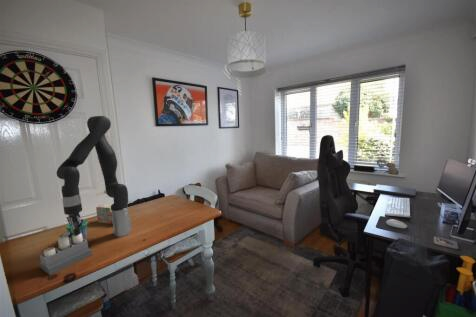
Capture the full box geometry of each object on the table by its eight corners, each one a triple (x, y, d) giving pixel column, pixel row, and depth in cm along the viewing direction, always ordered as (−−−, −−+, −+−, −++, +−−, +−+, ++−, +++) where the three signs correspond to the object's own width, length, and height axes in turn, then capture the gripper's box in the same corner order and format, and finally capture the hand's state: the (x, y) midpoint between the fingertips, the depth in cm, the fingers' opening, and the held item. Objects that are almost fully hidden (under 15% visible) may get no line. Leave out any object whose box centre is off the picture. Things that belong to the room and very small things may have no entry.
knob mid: (67, 245, 111) (66, 234, 111) (71, 247, 109) (69, 236, 108) (58, 249, 108) (56, 238, 107) (61, 251, 106) (59, 240, 105)
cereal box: (128, 221, 156) (126, 205, 154) (121, 224, 150) (119, 208, 148) (105, 218, 161) (103, 203, 160) (97, 222, 155) (95, 206, 154)
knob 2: (81, 242, 117) (79, 232, 116) (85, 244, 115) (83, 233, 114) (72, 246, 113) (70, 235, 112) (76, 248, 111) (74, 237, 110)
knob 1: (54, 257, 107) (52, 246, 106) (58, 259, 105) (56, 248, 104) (44, 262, 103) (42, 250, 102) (47, 264, 101) (45, 252, 100)
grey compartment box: (81, 249, 120) (79, 236, 119) (91, 254, 114) (89, 241, 113) (39, 267, 105) (37, 253, 104) (49, 275, 99) (47, 260, 98)
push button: (76, 244, 125) (74, 229, 123) (77, 248, 121) (75, 232, 120) (62, 249, 120) (59, 233, 119) (62, 253, 117) (60, 236, 115)
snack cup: (75, 234, 138) (73, 219, 136) (93, 232, 140) (91, 217, 139) (62, 247, 123) (59, 231, 121) (83, 244, 125) (80, 228, 124)
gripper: (86, 203, 110) (90, 234, 113) (74, 199, 117) (79, 229, 119) (69, 208, 104) (74, 240, 106) (58, 204, 111) (63, 235, 113)
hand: (76, 234), depth 113 cm, fingers closed
